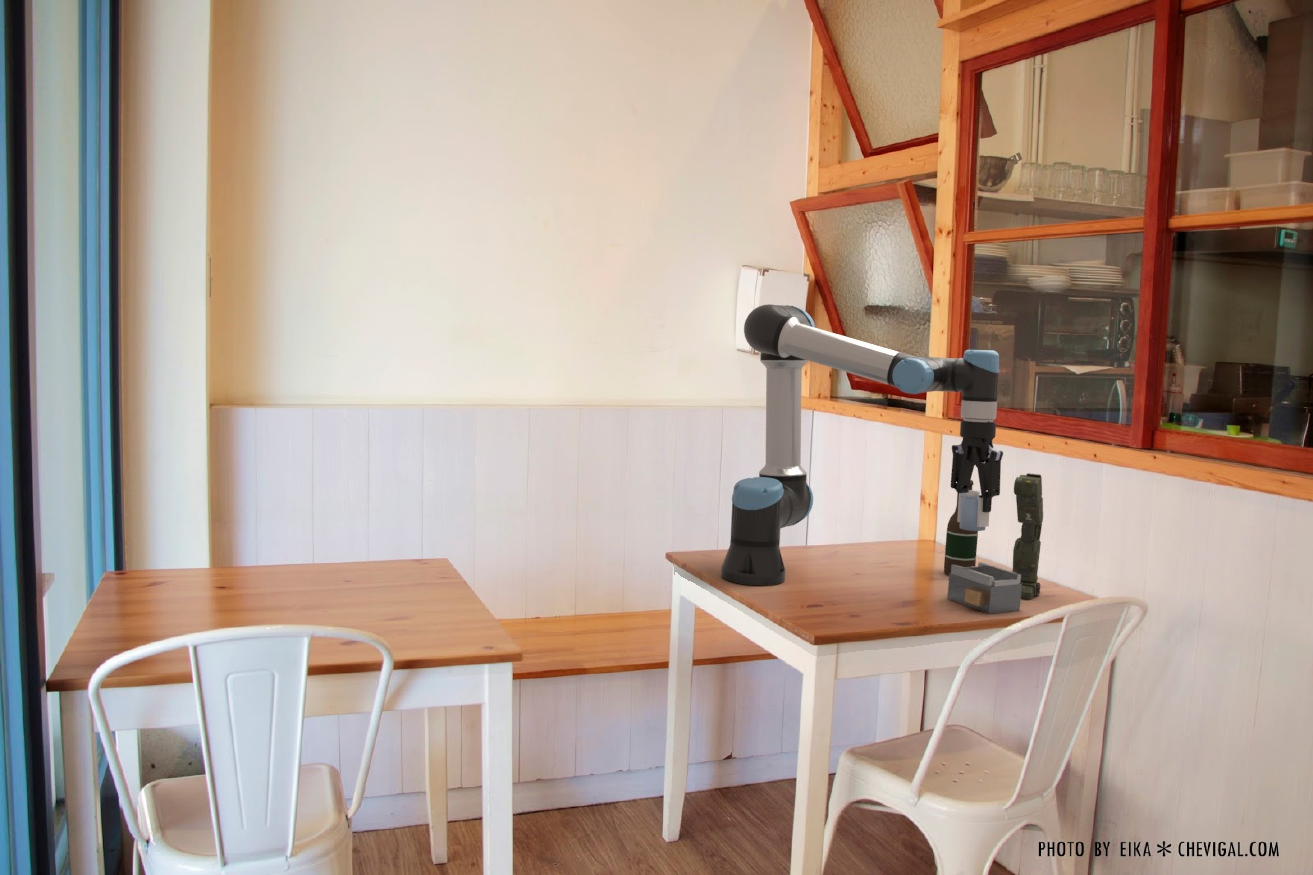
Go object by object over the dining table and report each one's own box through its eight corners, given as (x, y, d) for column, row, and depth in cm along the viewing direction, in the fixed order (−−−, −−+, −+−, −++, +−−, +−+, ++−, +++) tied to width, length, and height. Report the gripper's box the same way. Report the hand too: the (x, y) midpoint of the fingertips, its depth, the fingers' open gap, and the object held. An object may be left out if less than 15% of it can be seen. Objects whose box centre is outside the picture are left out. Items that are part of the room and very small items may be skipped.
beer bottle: (953, 569, 269) (960, 476, 267) (981, 575, 264) (988, 480, 261) (937, 573, 264) (944, 478, 261) (965, 580, 258) (972, 483, 256)
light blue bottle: (954, 527, 236) (956, 489, 235) (973, 525, 239) (975, 488, 238) (971, 531, 231) (973, 493, 230) (990, 530, 234) (992, 492, 233)
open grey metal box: (934, 597, 240) (937, 562, 240) (971, 593, 245) (973, 559, 244) (981, 614, 227) (984, 578, 226) (1019, 610, 232) (1022, 574, 231)
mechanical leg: (1015, 580, 257) (1019, 464, 247) (1046, 585, 253) (1051, 467, 244) (1002, 604, 246) (1005, 484, 236) (1034, 610, 242) (1038, 488, 233)
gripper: (1022, 423, 226) (1016, 530, 228) (962, 416, 242) (956, 516, 245) (996, 424, 223) (989, 532, 225) (936, 416, 239) (931, 518, 241)
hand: (972, 523), depth 235 cm, fingers closed on light blue bottle, 5 cm apart
